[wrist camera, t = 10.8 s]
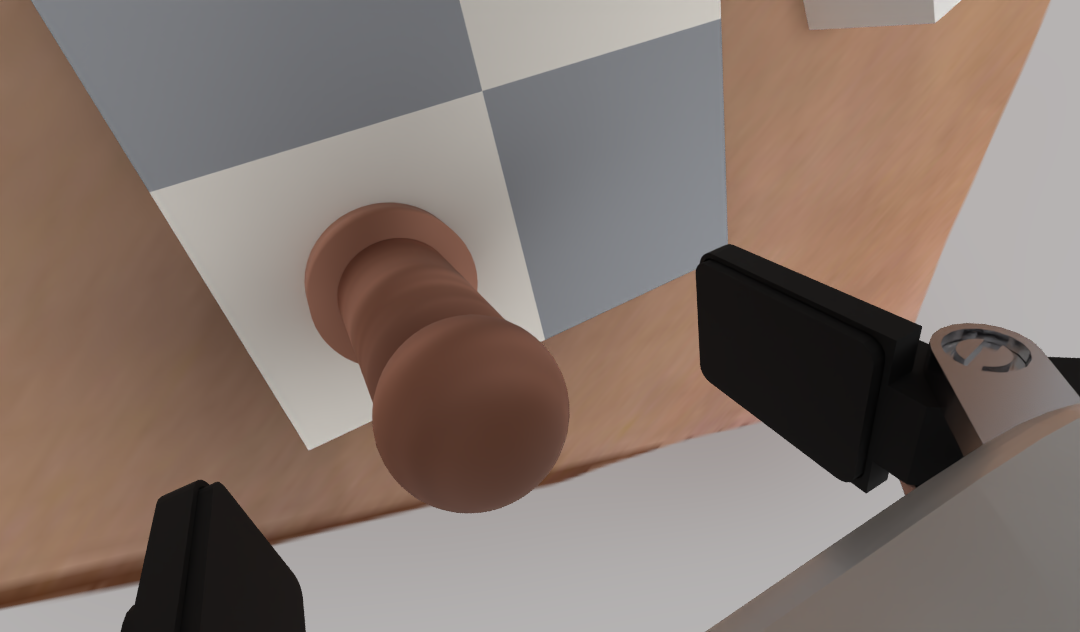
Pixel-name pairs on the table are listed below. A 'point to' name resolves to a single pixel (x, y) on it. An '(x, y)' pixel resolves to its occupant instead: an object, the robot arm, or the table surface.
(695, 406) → the table surface
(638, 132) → the board
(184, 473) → the table surface
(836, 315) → the robot arm
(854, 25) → the die
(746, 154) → the table surface
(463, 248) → the pawn
